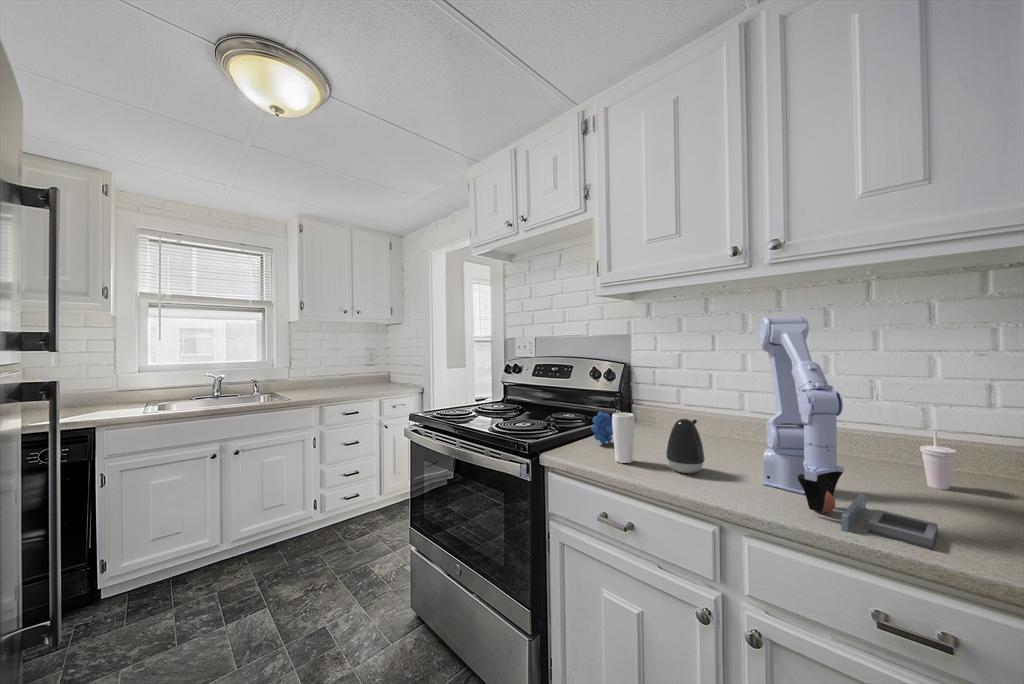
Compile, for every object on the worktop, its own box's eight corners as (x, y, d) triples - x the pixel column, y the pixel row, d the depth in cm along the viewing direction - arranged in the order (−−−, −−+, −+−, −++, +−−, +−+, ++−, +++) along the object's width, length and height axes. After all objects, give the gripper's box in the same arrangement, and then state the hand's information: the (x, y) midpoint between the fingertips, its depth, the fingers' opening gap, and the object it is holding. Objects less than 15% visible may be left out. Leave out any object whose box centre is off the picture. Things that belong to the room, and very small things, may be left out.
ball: (803, 511, 89) (803, 488, 89) (810, 504, 92) (810, 483, 92) (832, 518, 85) (831, 495, 85) (838, 512, 88) (837, 489, 88)
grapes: (601, 449, 140) (601, 415, 140) (587, 445, 146) (586, 412, 146) (623, 443, 147) (622, 410, 147) (609, 439, 153) (608, 408, 152)
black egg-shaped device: (712, 472, 115) (712, 419, 115) (689, 479, 109) (689, 424, 109) (681, 462, 124) (681, 413, 123) (659, 469, 118) (658, 418, 118)
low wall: (841, 529, 80) (841, 515, 80) (859, 507, 90) (859, 493, 90) (847, 531, 79) (847, 516, 79) (865, 508, 89) (865, 495, 89)
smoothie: (936, 482, 104) (936, 428, 104) (965, 491, 97) (964, 434, 97) (912, 482, 104) (912, 429, 103) (940, 492, 97) (939, 435, 97)
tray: (868, 532, 79) (867, 522, 79) (877, 518, 84) (877, 509, 84) (932, 550, 72) (932, 539, 72) (937, 534, 78) (937, 524, 78)
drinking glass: (627, 466, 121) (626, 417, 121) (608, 461, 126) (607, 414, 126) (639, 461, 126) (638, 414, 125) (620, 457, 131) (619, 411, 130)
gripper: (834, 454, 80) (834, 521, 81) (851, 441, 90) (852, 501, 90) (792, 447, 86) (793, 510, 86) (813, 435, 95) (813, 492, 95)
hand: (820, 505), depth 88 cm, fingers open, 7 cm apart
